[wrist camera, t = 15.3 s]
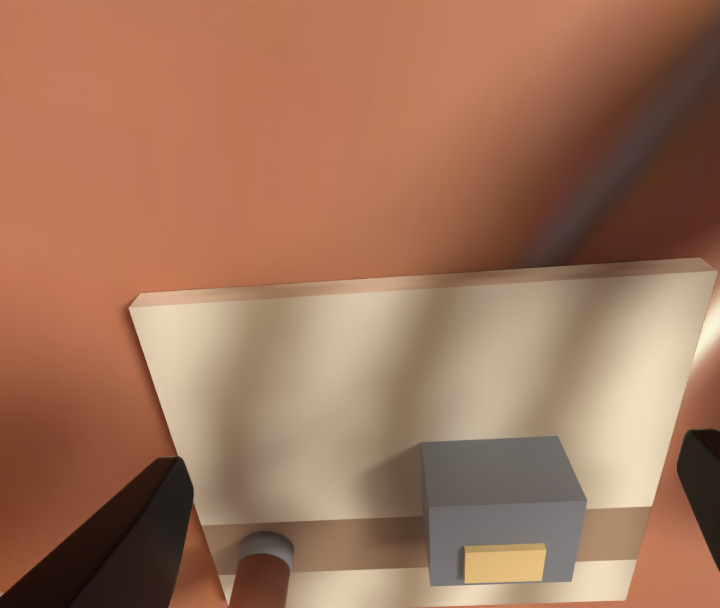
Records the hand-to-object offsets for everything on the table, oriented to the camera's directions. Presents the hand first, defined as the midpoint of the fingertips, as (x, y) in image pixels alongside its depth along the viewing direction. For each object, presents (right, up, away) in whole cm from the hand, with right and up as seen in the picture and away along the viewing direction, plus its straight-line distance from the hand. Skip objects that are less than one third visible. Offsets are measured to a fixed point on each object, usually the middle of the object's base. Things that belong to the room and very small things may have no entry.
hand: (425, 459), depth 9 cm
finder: (+5, -5, +15) cm, 16 cm away
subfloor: (+2, -5, +16) cm, 17 cm away
